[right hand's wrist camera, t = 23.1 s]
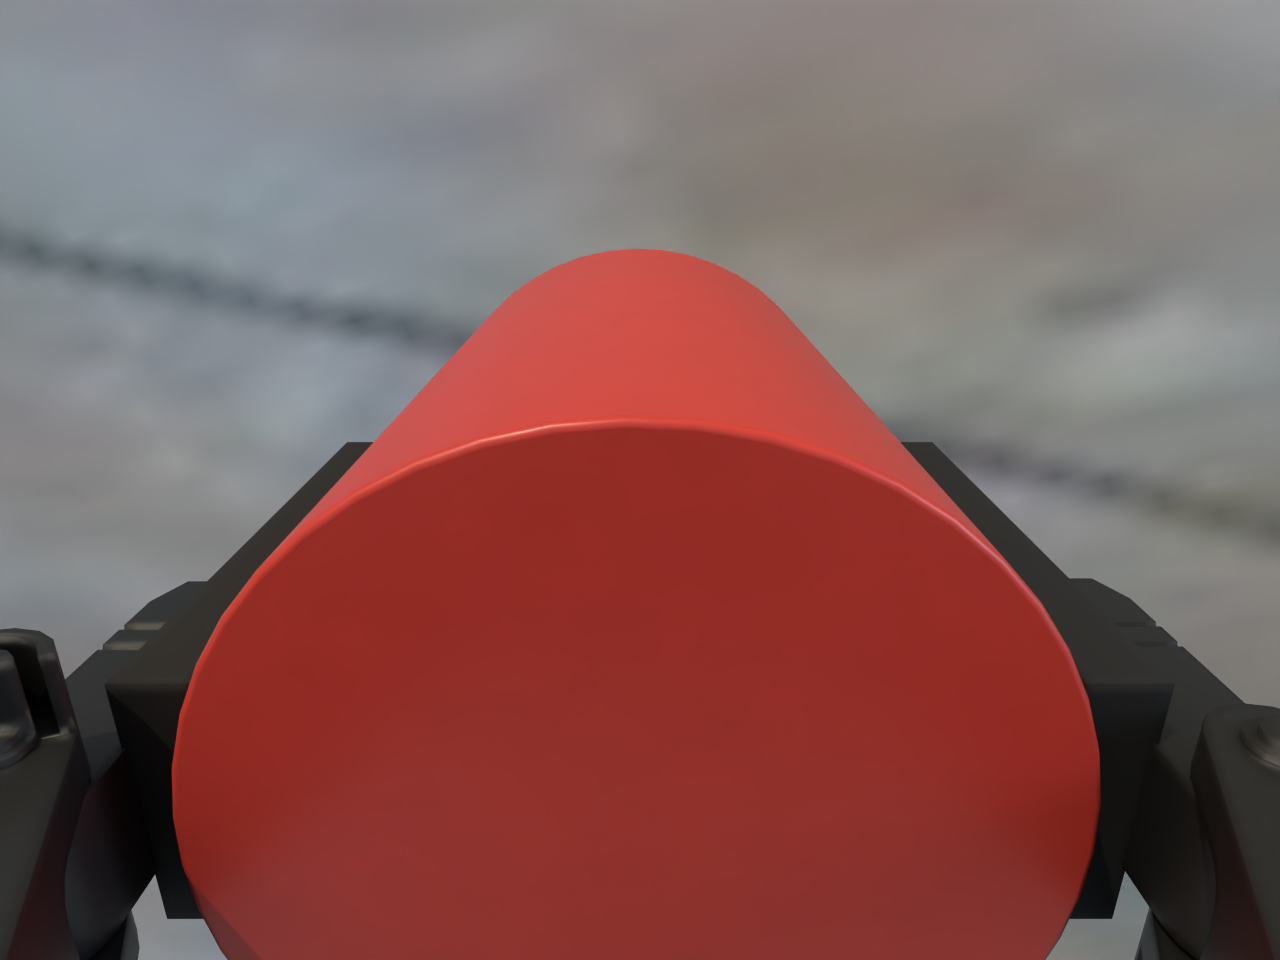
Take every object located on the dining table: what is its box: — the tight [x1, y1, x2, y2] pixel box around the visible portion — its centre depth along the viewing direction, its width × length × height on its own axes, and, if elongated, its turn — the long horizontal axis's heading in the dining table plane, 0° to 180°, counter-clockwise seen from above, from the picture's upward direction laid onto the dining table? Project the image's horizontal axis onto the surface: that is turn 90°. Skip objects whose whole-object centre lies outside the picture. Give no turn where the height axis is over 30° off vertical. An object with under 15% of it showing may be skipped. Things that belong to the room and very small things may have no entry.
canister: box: [172, 249, 1101, 960], centre depth 12 cm, size 8×8×11 cm
